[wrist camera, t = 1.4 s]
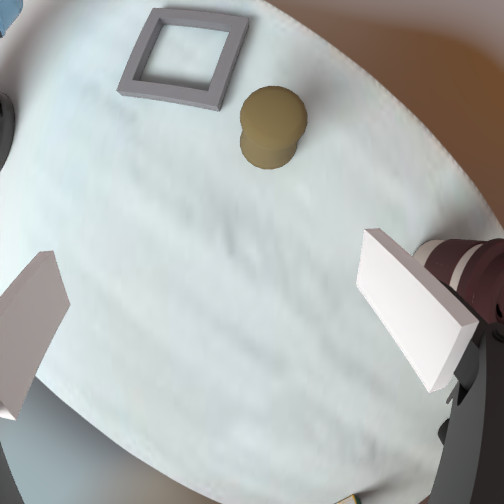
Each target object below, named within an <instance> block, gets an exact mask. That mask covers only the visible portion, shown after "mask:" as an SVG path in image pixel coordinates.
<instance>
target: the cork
mask: <svg viewBox="0 0 504 504" xmlns="http://www.w3.org/2000/svg"><path fill="white" fill-rule="evenodd" d="M240 122H241V126H242V129H243V131H242V134H241V136H240V147H241V150H242V153H243V155H244V156H245V158H246V159H247V161H249V162H250V163H251V164H253V165H254V166H256V167H259V168H262V169H276V168H279V167H282V166H283V165H285V164H286V163H288V162H289V161H290V159H291V158H292V157H293V156H294V153H295V150H296V147H297V141H298V140H299V139H300V137H301V136H302V135H303V134H304V132H305V129H306V126H307V112H306V109H305V106H304V103H303V102H302V100H301V99H300V98H299V97H298V95H296V94H295V93H293V92H292V91H291V90H289V89H286V88H283V87H280V86H267V87H263V88H260V89H258V90H256V91H255V92H253V93H251V95H250V96H249V97H248V98H247V99H246V100H245V102H244V103H243V106H242V109H241V111H240Z"/></svg>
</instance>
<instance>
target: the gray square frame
mask: <svg viewBox="0 0 504 504" xmlns="http://www.w3.org/2000/svg"><path fill="white" fill-rule="evenodd" d="M163 24H164V25H177V26H187V27H196V28H204V29H212V30H219V31H225V32H229V34H228V37H227V39H226V42H225V45H224V47H223V50H222V53H221V55H220V58H219V61H218V63H217V66H216V69H215V72H214V74H213V77H212V80H211V83H210V86H209V89H208V91H204V90H199V89H193V88H187V87H181V86H175V85H168V84H161V83H153V82H145V81H139V80H140V77H141V75H142V72H143V69H144V67H145V64H146V62H147V60H148V57H149V55H150V52H151V50H152V48H153V46H154V43H155V41H156V39H157V37H158V34H159V32H160V30H161V28H162V26H163ZM248 27H249V18H245V17H239V16H233V15H226V14H219V13H212V12H203V11H194V10H182V9H166V8H153V9H152V11H151V13H150V15H149V17H148V19H147V21H146V23H145V25H144V27H143V29H142V31H141V33H140V35H139V37H138V40H137V42H136V44H135V46H134V48H133V51H132V53H131V55H130V58H129V60H128V62H127V65H126V67H125V70H124V72H123V75H122V77H121V80H120V82H119V85H118V88H117V90H116V91H117V92H119V93H120V94H121V95H122V96H131V97H138V98H146V99H153V100H159V101H166V102H172V103H178V104H183V105H189V106H194V107H199V108H204V109H209V110H214V111H220V107H221V104H222V101H223V98H224V95H225V92H226V89H227V86H228V83H229V80H230V77H231V74H232V71H233V68H234V66H235V63H236V60H237V57H238V54H239V51H240V49H241V46H242V43H243V40H244V38H245V35H246V32H247V30H248Z"/></svg>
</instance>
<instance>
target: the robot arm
mask: <svg viewBox="0 0 504 504" xmlns="http://www.w3.org/2000/svg"><path fill="white" fill-rule="evenodd" d="M22 8H23V0H0V38H3V37H4V35H5V32H6V31H7V29H8V28H9V27H10V25H11V24H12V23H13V22H14V20H15V19H16V18H17V17H18V16H19V14H20V13H21V11H22ZM13 132H14V110H13V106H12V103H11V101H10V99H9V98H8V97H7V96H6V95H5V94H3V93H0V170H1V168H2V166H3V164H4V162H5V160H6V158H7V155H8V152H9V149H10V146H11V142H12V138H13ZM356 286H357V287H358V289H359V290H360V292H361V293H362V294H363V296H364V297H365V298H366V300H367V301H368V303H369V304H370V306H371V307H372V308H373V310H374V311H375V313H376V314H377V315H378V317H379V318H380V320H381V321H382V323H383V324H384V325H385V327H386V328H387V330H388V331H389V333H390V334H391V336H392V337H393V339H394V340H395V342H396V343H397V345H398V346H399V348H400V349H401V351H402V352H403V354H404V355H405V357H406V358H407V360H408V361H409V363H410V364H411V366H412V367H413V369H414V370H415V372H416V373H417V375H418V376H419V378H420V380H421V381H422V383H423V384H424V386H425V387H426V389H427V391H428V392H429V393H431V392H434V391H436V390H439V389H442V388H444V387H447V385H448V383H449V381H450V380H451V378H452V376H453V374H454V375H455V376H456V378H457V379H458V382H457V384H456V386H455V387H454V389H453V391H452V392H451V394H450V396H449V397H448V399H447V401H446V403H447V404H449V402H450V401H451V399H452V398H453V402H452V408H451V414H450V420H449V425H448V430H447V435H446V439H445V444H444V448H443V452H442V456H441V460H440V464H439V468H438V471H437V475H436V478H435V481H434V485H433V488H432V491H431V494H430V497H429V501H428V503H427V504H504V324H502V323H496V322H494V323H490V324H488V323H487V322H486V321H485V320H484V319H483V318H482V317H481V316H480V315H479V314H478V313H477V312H476V311H475V310H474V308H473V307H471V306H470V305H469V304H468V303H467V302H465V300H464V299H463V298H462V297H461V296H459V294H458V293H457V292H456V291H455V290H454V289H453V288H452V287H451V286H449V285H448V284H446V283H444V282H442V281H441V280H437V279H436V278H435V277H434V276H433V275H432V274H431V273H430V272H429V271H428V270H427V269H425V268H424V267H423V266H422V265H421V264H420V263H419V262H418V261H417V260H416V259H414V258H413V257H412V256H411V255H410V254H409V253H408V252H407V251H405V250H404V249H403V248H402V247H401V246H400V245H399V244H397V243H396V242H395V241H394V240H393V239H392V238H390V237H389V236H388V235H387V234H386V233H385V232H383V231H382V230H381V229H380V228H378V229H364V235H363V243H362V250H361V256H360V263H359V269H358V275H357V281H356ZM69 307H70V302H69V299H68V296H67V293H66V290H65V287H64V284H63V281H62V278H61V275H60V272H59V269H58V265H57V262H56V258H55V255H54V251H43V252H39V253H38V254H37V255H36V256H35V257H34V258H33V259H32V261H31V262H30V263H29V264H28V265H27V266H26V267H25V268H24V269H23V271H22V272H21V273H20V274H19V275H18V276H17V277H16V279H15V280H14V281H13V282H12V283H11V285H10V286H9V287H8V288H7V289H6V291H5V292H4V293H3V294H2V295H1V297H0V417H4V418H8V419H12V420H17V417H18V415H19V412H20V410H21V407H22V405H23V402H24V400H25V397H26V395H27V393H28V390H29V388H30V385H31V383H32V381H33V379H34V376H35V374H36V372H37V370H38V368H39V365H40V363H41V361H42V359H43V357H44V355H45V353H46V351H47V349H48V347H49V345H50V343H51V341H52V339H53V337H54V335H55V333H56V331H57V329H58V327H59V325H60V323H61V321H62V319H63V318H64V316H65V314H66V312H67V310H68V308H69ZM0 504H24V502H23V500H22V497H21V495H20V493H19V491H18V488H17V486H16V484H15V481H14V479H13V476H12V474H11V471H10V469H9V466H8V463H7V460H6V458H5V455H4V452H3V449H2V446H1V443H0Z"/></svg>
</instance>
